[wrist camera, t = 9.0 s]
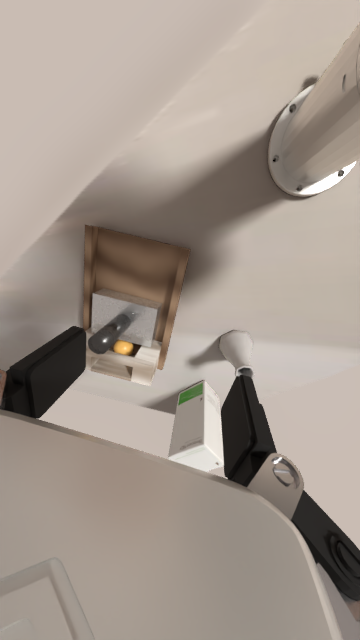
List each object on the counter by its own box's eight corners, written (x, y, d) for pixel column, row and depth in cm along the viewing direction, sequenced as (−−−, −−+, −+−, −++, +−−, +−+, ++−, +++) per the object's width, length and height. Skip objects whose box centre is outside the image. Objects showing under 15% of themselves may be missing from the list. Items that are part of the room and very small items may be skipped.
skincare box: (205, 378, 45) (205, 442, 30) (220, 397, 46) (228, 466, 32) (177, 393, 47) (165, 458, 33) (192, 410, 49) (188, 479, 34)
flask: (221, 361, 42) (226, 393, 33) (215, 332, 40) (219, 358, 31) (254, 356, 41) (269, 389, 32) (251, 326, 39) (266, 352, 29)
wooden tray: (96, 226, 35) (56, 220, 25) (190, 249, 34) (185, 251, 25) (91, 341, 45) (61, 367, 35) (165, 360, 44) (154, 392, 35)
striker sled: (103, 288, 37) (56, 309, 25) (162, 303, 37) (142, 331, 25) (101, 324, 40) (58, 357, 29) (155, 338, 40) (134, 377, 28)
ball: (111, 358, 40) (119, 344, 43) (129, 363, 40) (136, 348, 43) (109, 347, 37) (117, 332, 40) (128, 352, 37) (135, 337, 40)
